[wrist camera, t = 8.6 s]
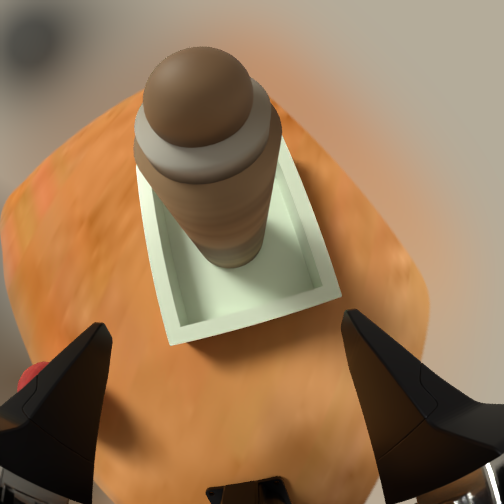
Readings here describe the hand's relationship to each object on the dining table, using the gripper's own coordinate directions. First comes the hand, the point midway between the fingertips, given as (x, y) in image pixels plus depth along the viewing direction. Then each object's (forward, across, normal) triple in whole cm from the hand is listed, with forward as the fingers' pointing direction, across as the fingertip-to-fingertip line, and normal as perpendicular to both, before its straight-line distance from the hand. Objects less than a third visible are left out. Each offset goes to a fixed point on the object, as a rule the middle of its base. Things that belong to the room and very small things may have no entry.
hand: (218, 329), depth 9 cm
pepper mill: (+11, 0, +2) cm, 11 cm away
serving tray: (+12, 0, +3) cm, 12 cm away
